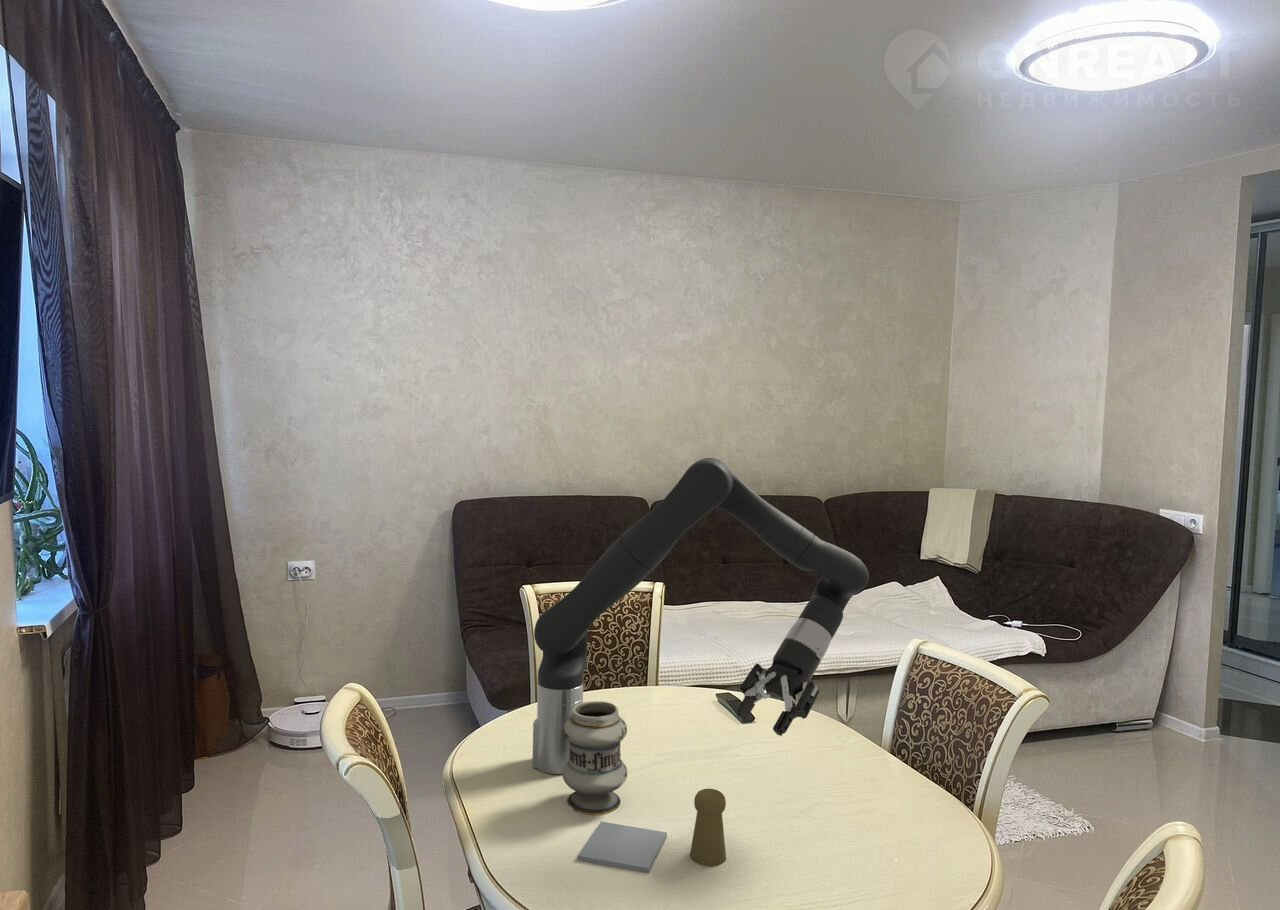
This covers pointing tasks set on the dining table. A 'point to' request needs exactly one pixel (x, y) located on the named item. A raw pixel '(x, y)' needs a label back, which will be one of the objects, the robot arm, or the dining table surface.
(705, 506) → the robot arm
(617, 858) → the slate tile
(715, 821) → the brown pawn
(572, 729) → the apothecary jar
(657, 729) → the dining table surface
